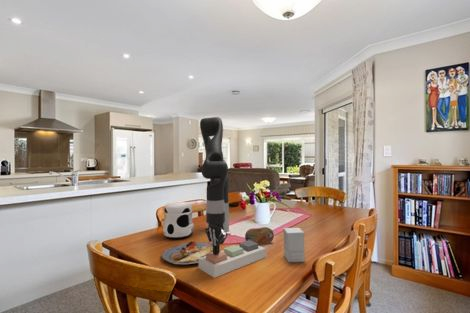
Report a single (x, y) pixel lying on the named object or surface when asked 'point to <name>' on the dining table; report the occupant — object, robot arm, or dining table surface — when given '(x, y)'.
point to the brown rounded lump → (260, 235)
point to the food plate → (187, 252)
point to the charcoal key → (248, 245)
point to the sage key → (233, 251)
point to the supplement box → (294, 245)
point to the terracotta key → (216, 257)
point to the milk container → (178, 220)
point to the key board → (231, 262)
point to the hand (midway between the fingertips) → (216, 253)
